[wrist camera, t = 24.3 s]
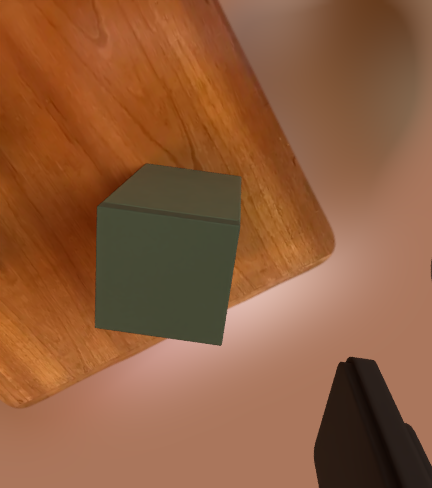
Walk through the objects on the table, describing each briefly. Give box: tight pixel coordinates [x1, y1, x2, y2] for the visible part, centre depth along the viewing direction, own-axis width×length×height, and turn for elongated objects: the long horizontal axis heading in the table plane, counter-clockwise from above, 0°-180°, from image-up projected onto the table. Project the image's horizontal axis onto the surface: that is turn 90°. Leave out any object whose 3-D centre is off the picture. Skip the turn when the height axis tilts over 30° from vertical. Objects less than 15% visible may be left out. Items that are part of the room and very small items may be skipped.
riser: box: [95, 164, 241, 346], centre depth 34 cm, size 9×9×14 cm
